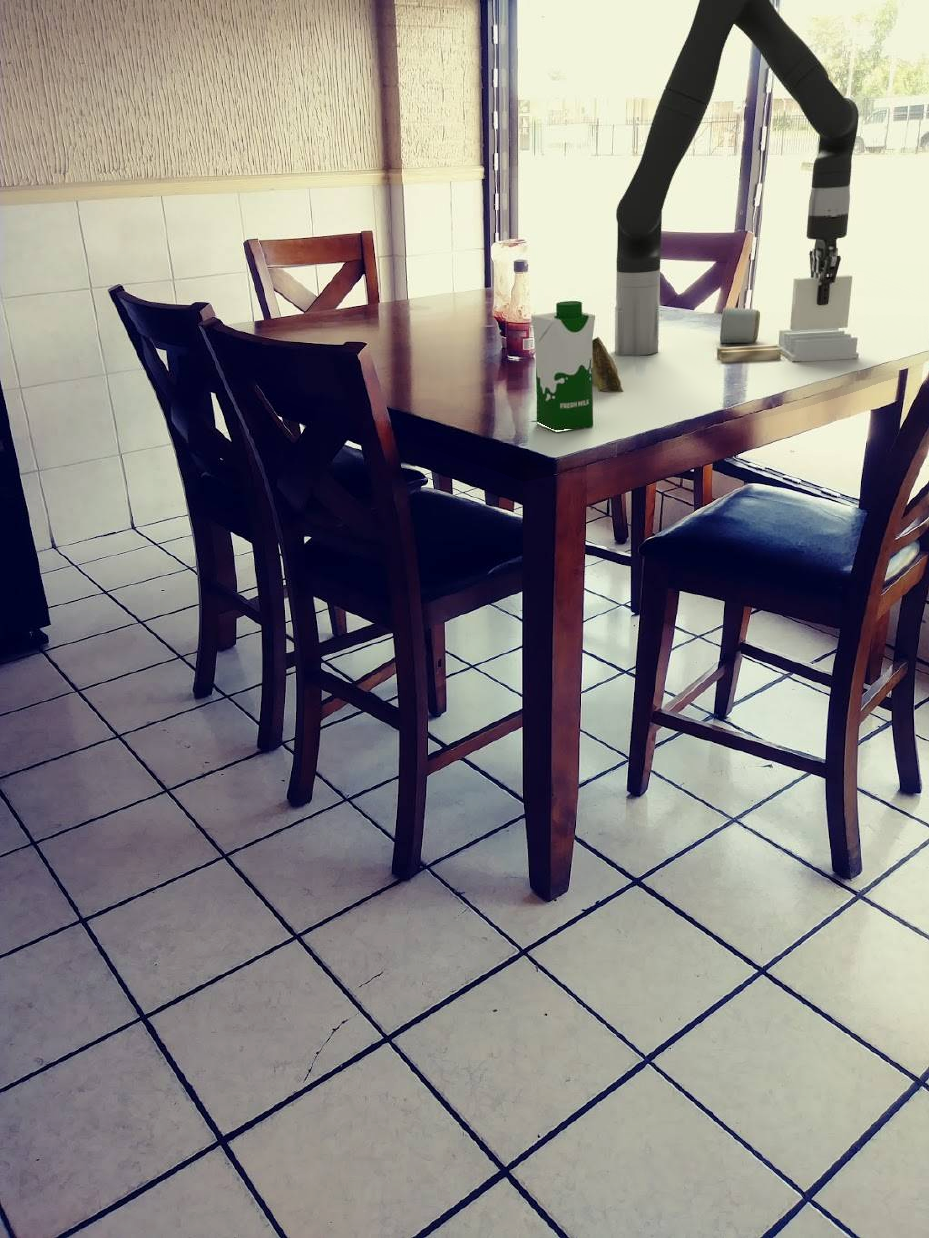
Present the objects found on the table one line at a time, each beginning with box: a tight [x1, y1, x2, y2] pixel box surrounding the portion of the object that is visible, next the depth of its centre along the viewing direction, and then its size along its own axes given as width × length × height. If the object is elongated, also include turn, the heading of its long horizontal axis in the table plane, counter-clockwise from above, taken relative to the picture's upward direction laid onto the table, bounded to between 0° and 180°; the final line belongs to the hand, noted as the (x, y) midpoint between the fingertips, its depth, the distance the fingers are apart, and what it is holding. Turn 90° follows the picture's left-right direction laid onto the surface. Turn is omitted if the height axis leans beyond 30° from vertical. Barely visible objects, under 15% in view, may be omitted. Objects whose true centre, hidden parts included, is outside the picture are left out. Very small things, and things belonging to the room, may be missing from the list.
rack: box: [775, 328, 860, 362], centre depth 202 cm, size 13×14×4 cm
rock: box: [592, 336, 624, 392], centre depth 187 cm, size 11×9×10 cm
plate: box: [789, 274, 853, 331], centre depth 199 cm, size 11×2×10 cm, turn 88°
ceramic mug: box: [719, 306, 761, 344], centre depth 219 cm, size 11×8×8 cm
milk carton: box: [530, 300, 596, 430], centre depth 159 cm, size 9×9×20 cm
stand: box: [716, 344, 782, 363], centre depth 203 cm, size 12×5×2 cm, turn 88°
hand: (820, 303), depth 199 cm, fingers closed on plate, 2 cm apart
